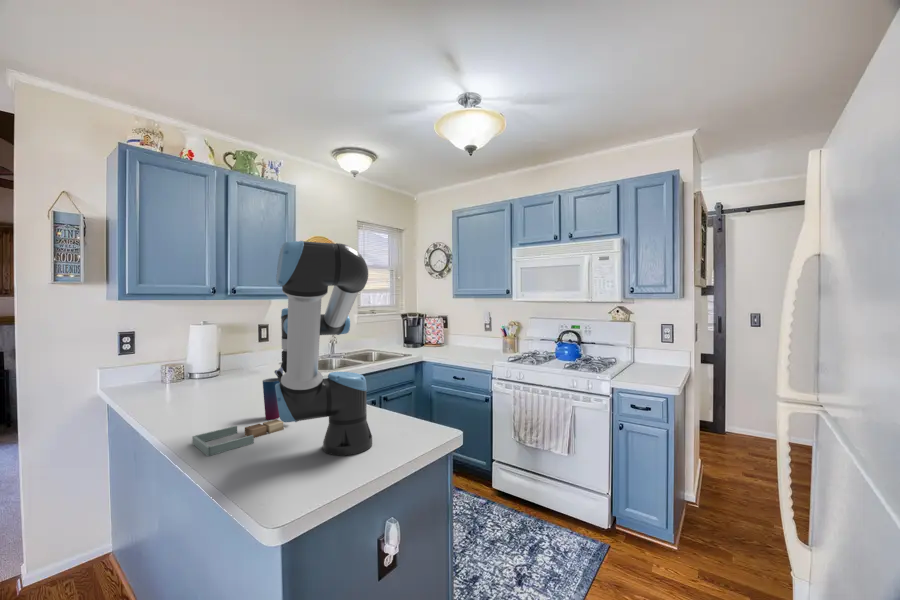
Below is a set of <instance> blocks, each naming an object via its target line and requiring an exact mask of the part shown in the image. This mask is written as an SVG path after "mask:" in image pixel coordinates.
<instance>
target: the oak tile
mask: <svg viewBox="0 0 900 600" xmlns="http://www.w3.org/2000/svg"><path fill="white" fill-rule="evenodd" d="M284 424H285V423H284V422H283V421H281V419H278V418H277V419H274V420H267V421H265V422H262V425H264V426H266V427H267V434H269V435H271V434H274V433H277V432H280V431H284V429H285V428H284Z"/></svg>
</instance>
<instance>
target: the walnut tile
mask: <svg viewBox="0 0 900 600" xmlns="http://www.w3.org/2000/svg"><path fill="white" fill-rule="evenodd" d="M267 434H268V433H267V427H266V426H264V425H263V423H262V424H261V423H256V424H252V425H249V426H245V427H244V437H247V436H250V435H254V439H256V438H259V437H262V436H265V435H267Z"/></svg>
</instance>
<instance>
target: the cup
mask: <svg viewBox="0 0 900 600" xmlns="http://www.w3.org/2000/svg"><path fill="white" fill-rule="evenodd" d="M277 383H279V381H278V377H269V378H264V379H263V380H262V391H263V405H264V416H265V417H264V418H265V420H267V421H272V420H275V419H277V420H278V419H280V416H279V410H278V403H277V396H276V389H275V385H276V384H277Z"/></svg>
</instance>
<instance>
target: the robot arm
mask: <svg viewBox="0 0 900 600" xmlns="http://www.w3.org/2000/svg"><path fill="white" fill-rule="evenodd" d="M276 267H277V268H276V275H275V276H276V278H275V279H276V280H275V281H276V284H277V285H278V286H279V287H281V292H282V293H283V294H284V295H286V296H287V299H288V300H287V307H286V308H285V307H284V308H282V309H281V315H280V319H281V322H280V323H281V324H280V325H281V326H280V327H281V328H280V329H281V349H282V350H281V365H280V368H278V369H276V370H274V374H275V375H276V378H278V381H279V383H277V384H276V385H275V389H276V396H277V403H278V410H279V416H280V417H279V420H280V421H282V422H283V423H294V422H295V423H298V422H301V421H307V420H308V421H309V420H314V419H321V418H328V425H327V427H326V431H325V435H324V437H323V441H322V444H323V445H322V449H323V451H324V452H325V453H326V454H329V455H332V456H350V455H356V454H359V453H363V452H365V451H367V450H369V449H370V448H371V447H372V446H373V435H372V432H371V429H370V426H369V423H368V420H367V415H368V414H367V413H368V412H367V411H368V410H367V409H368V408H367V392H368V388H367V380H366V376H364V375H363V374H362V373H357V372H351V371H334V372H333V371H332V372H329V373H328V374H327V377H326V378H323V374H322V373H321V372H320V371H319V356H320V351H319V350H320V336H340V335H347V334H348V333H350V328H351V318H350V315H349V314H350V312H351V310H352V307H353V305H354V303H355V301H356V299H357V297H358V294H359V293H360V292H361V291H363V290H364V288H365V287H366V285H367V284H368V283H367V282H368V279H369V268H368V264H367V263H366V261H365V258H364V257H363V256H362V255H361V254H360V252H359V251H358V250H356V249H355V248H353V247H351V246H350V245H348V244H343V243H340V242H339V243H338V242H337V243H335V242H333V243H332V242H320V241H319V242H317V241H303V240H298V241H297V240H296V241H295V240H293V241H289V240H288V241H285V242H284V243H282V245H281V248H280V250H279V254H278V259H277V266H276ZM330 286H331V287H332V286H333V288H332V291H331V293H330V298H329V300H328V303H327V307H326V309H325V313H323V314H322V298H324V297H325V296H326V295H327V294H328V289H329V287H330Z"/></svg>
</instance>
